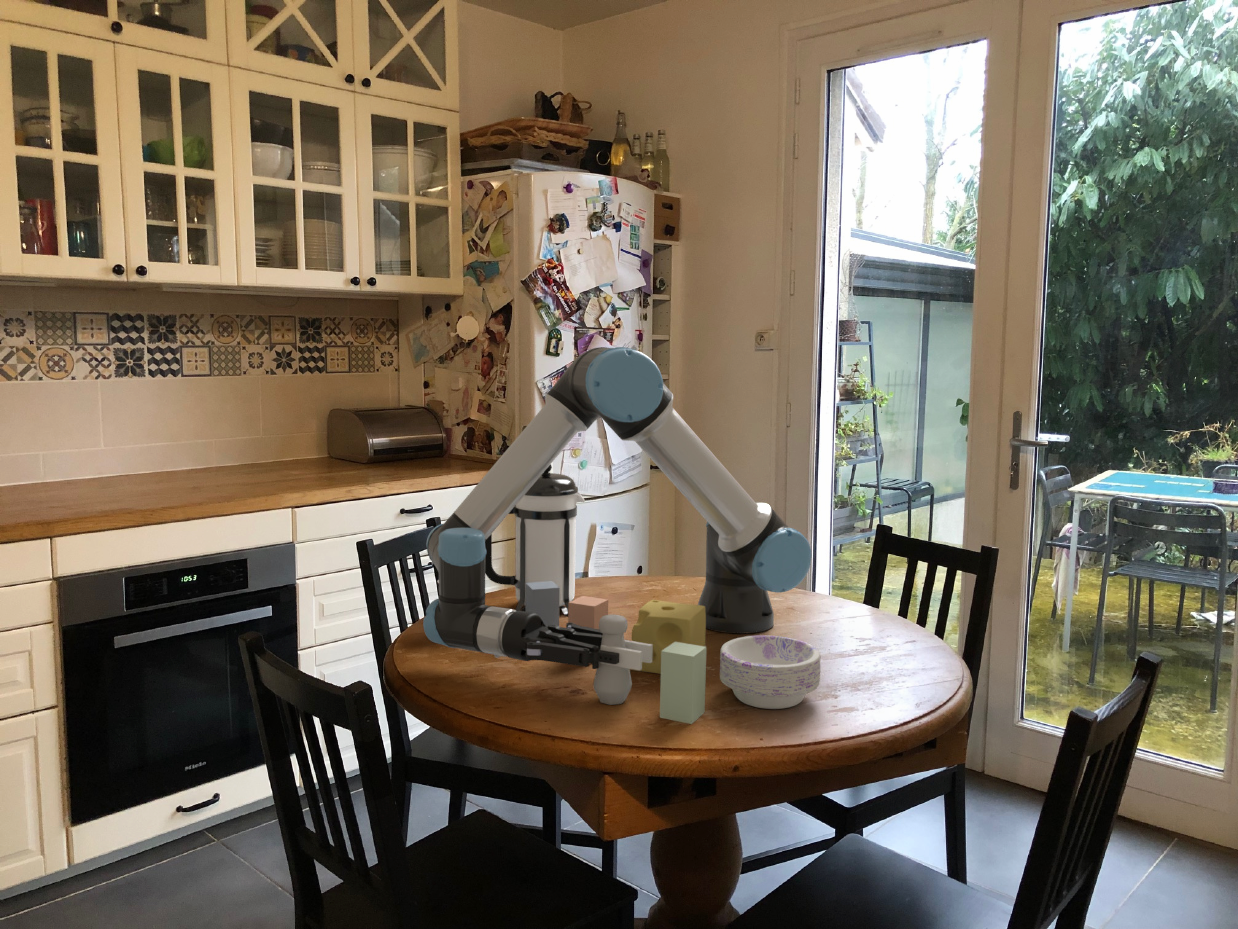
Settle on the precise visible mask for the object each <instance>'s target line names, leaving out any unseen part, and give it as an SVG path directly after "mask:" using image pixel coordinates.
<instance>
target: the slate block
mask: <svg viewBox="0 0 1238 929" xmlns="http://www.w3.org/2000/svg"><path fill="white" fill-rule="evenodd" d="M559 592H560V588H559V587H558V586H557V585H556V584H555V583H554V582H553V581H546V582H531V583H526V605H525V606H526V612H530V613H535V614H538V615H539V616H540V617H541V619H542V621H543V623H544V624H545V626H548V625H558V626H559V627H560V608H559Z"/></svg>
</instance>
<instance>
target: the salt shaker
mask: <svg viewBox="0 0 1238 929" xmlns="http://www.w3.org/2000/svg"><path fill="white" fill-rule="evenodd" d="M628 625H629V623H628V619H627V618H626V617H625V616H624V615H619V614H608V615H605V616H603V617H602V618H601V619H600V621H599V630H600V632H601V633H603V636H602V642H601V645H606V646H611V647H613V646H615V647H620V648H626V646H625V640H626V639H625V635H624V634H625V633H626V632H627V630H628V627H629V626H628ZM600 650H601V648H600ZM595 670H596V671H595V676H594V678H593V679H594V680H593V683H592V684H593V686H592V687H593V690H594V691H595V693H596V694H595V695H597V697H598V700H599V702H600V703H601V704H606V705H611V706H612V705H620V704H623V703H624V702H625V701H626V700H627V698H628V695H629V693H630V692H631V690H632V685H633V682H632V677H631V669H629V668H623V667H618V666H612V665H607V664H606V663H605V664H601V663H600V662H599V668H597V669H595Z"/></svg>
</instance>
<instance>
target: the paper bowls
mask: <svg viewBox="0 0 1238 929" xmlns="http://www.w3.org/2000/svg"><path fill="white" fill-rule="evenodd" d="M719 650H720V654H719V660H720V661H719V663H720V665H719V666H720V667H719V680H720V681H721V683H722V684H723V685H725V686H726V687H728V688H729V689H732V692H733V694H734V696H735V698H737V700H739V701H740V702H742V703H743V704H746V705H748V706H751V707H755V708H758V709H768V710H780V709H781V710H782V709H788V708H792V707H794V706H797V705H799V704H800V703H802V701H803V700H804V699H805V697H806V695H807V694H810V693H811V692H814V691H815V690H816V689H818V687H819V685H820V682H821V659H822V657H821V652H820V650H819V649H818V648H817V647H816V646H815V645H812V644H811V643H809V642H806V641H804V640H801V639H796V638H793V637H786V636H779V635H768V634H767V635H765V634H764V635H763V634H762V635H761V634H759V635H746V636H741V637H737V638H733V639H730V640H729V641H727V642H725V643H723V645H722V646H721V648H720V649H719Z"/></svg>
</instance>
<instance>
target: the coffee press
mask: <svg viewBox="0 0 1238 929" xmlns="http://www.w3.org/2000/svg"><path fill="white" fill-rule="evenodd" d="M552 469H553V467H552V463H551V464H550V465H549V467H548V468H547V469H546V470H545V471H544V472H543V474H542V475H541V476H540V477H539V478H538V479H537V481H536V482H535V483H534V484H533V485H532V487H531V488H530V489H529V490H528V491H527V492H526V494H525V495H524V496H523V497H522V498H521V499H520V501H519V502H518V503H517V504H516V505H515V507H514V508H513V509H512V510H511V511H510V512H509V514H508V515H514V516H515V575H501V574H498V573H497V572H496V571H495V570H494V568H493V559H492V558H493V554H492V552H493V550H492V547H493V545H492V544H493V541H492V540H493V535H492V534H493V533H492V534H491V535H490V536H489V537H488V538H487V540H486V541H485V548H486V550H487V551H486V559H485V576H486V577H487V578H488V579H489V580H490V581H491V582H493V583H495V584H499V585H505V586H506V585H508V586H514V587H515V598H516V600H517V602H518V603H517V605H516V608H515V609H514V610H516V611H524V612H526V583H531V582H546V581H553V582H554V583H555V584H556V585H557V586H558V587H559V588H560V592H559V610H561V612H562V614H563V615H564V616H568V608H569V602H571V601H573V600H575V599H574V598H575V591H576V585H575V584H576V520H577V519H576V518H577V517H576V516H577V514H578V506H577V503H584V502H586V500H585V498H584V497H583V496H582V494H581V493H580V492H579V488H578V486H577V485H576V482H575V480H574V479H573V478H571V476H569V475H565V474H561V473H554V472H553V473H551V470H552Z"/></svg>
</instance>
